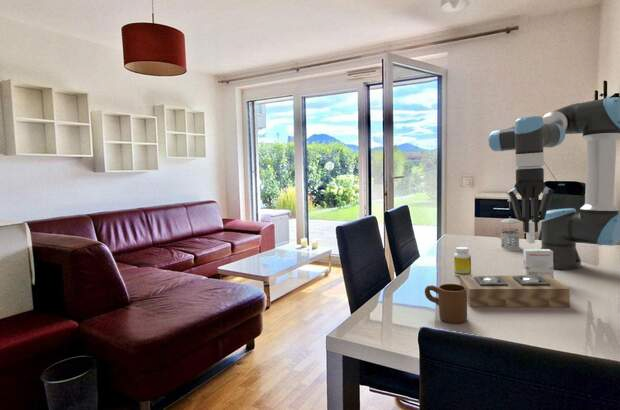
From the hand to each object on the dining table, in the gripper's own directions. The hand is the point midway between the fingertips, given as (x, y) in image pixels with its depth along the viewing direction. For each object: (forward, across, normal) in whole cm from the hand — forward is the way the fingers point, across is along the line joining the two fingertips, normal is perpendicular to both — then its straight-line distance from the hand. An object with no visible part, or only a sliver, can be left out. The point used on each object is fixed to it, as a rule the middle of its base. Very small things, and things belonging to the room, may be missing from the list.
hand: (530, 242), depth 117 cm
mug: (+18, +29, +16) cm, 38 cm away
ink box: (+19, -9, -18) cm, 27 cm away
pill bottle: (+19, +15, -27) cm, 36 cm away
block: (+18, +6, 0) cm, 19 cm away
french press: (+19, -16, -72) cm, 76 cm away
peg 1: (+18, +12, 0) cm, 22 cm away
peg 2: (+18, 0, 0) cm, 18 cm away
